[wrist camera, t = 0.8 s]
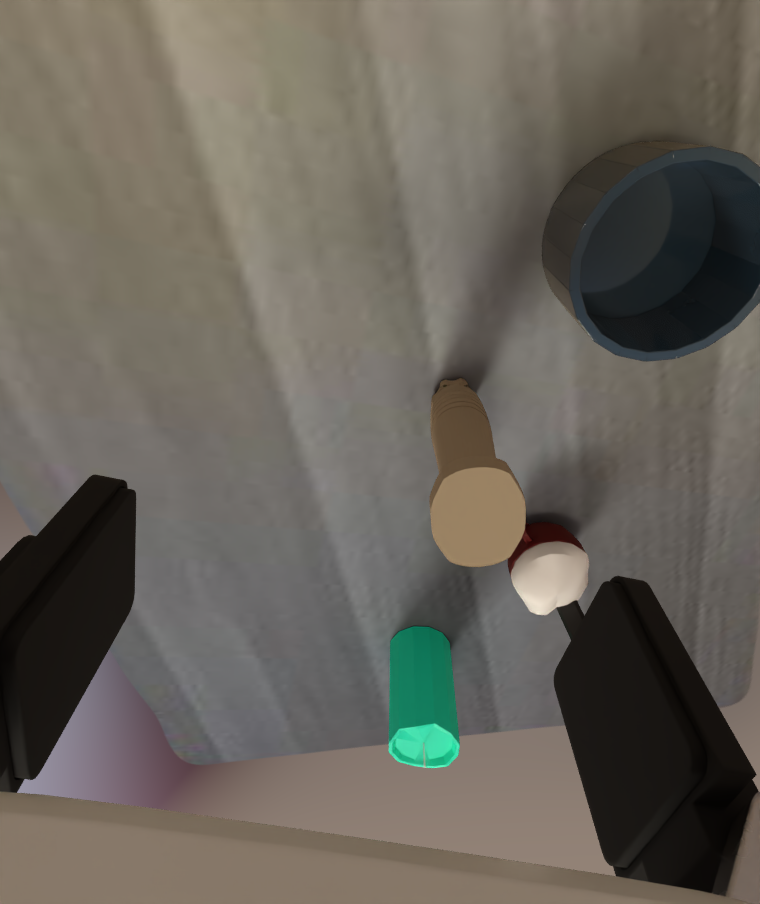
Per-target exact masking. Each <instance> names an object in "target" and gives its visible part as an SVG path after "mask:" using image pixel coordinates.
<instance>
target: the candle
mask: <svg viewBox="0 0 760 904" xmlns="http://www.w3.org/2000/svg"><path fill="white" fill-rule="evenodd" d="M459 747H460V742H459V732H458V722H457V712H456V702H455V692H454V681H453V671H452V661H451V651H450V642H449V641H448V640H447V638H446V637H445V635H444V634H443V633H442V632H440V631H437V630H435V629H433V628H431V627H418V626H413V627H410V628H407V629H404V630H402V631H399V632H398V633H397V634H396V635H395V636H394V638H393V639H392V640H391V641H390V702H389V753H390V754H391V755H392V756H393V757H394V758H395V759H396V760H397V761H398V762H402V763H405V764H409V765H412V766H420V767H427V768H436V767H446V766H449V765H450V763H451V762H452V761H453V760H454V759H455V758H456V757H457V756H458V754H459Z"/></svg>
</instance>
